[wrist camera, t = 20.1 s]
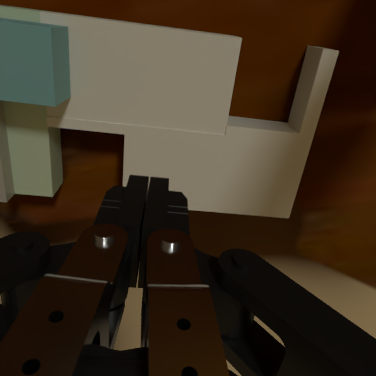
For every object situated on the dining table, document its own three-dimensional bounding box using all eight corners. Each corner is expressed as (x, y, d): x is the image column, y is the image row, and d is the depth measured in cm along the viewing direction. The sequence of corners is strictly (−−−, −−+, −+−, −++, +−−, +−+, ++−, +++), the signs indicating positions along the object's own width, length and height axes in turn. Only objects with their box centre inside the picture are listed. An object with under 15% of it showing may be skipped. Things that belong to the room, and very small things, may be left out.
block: (-4, 17, 28) (-31, 16, 25) (68, 26, 29) (50, 27, 25) (5, 89, 31) (-19, 97, 28) (70, 96, 31) (55, 106, 28)
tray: (1, 5, 31) (-32, 2, 26) (321, 47, 34) (347, 52, 29) (21, 178, 39) (-2, 201, 34) (279, 201, 42) (293, 226, 37)
